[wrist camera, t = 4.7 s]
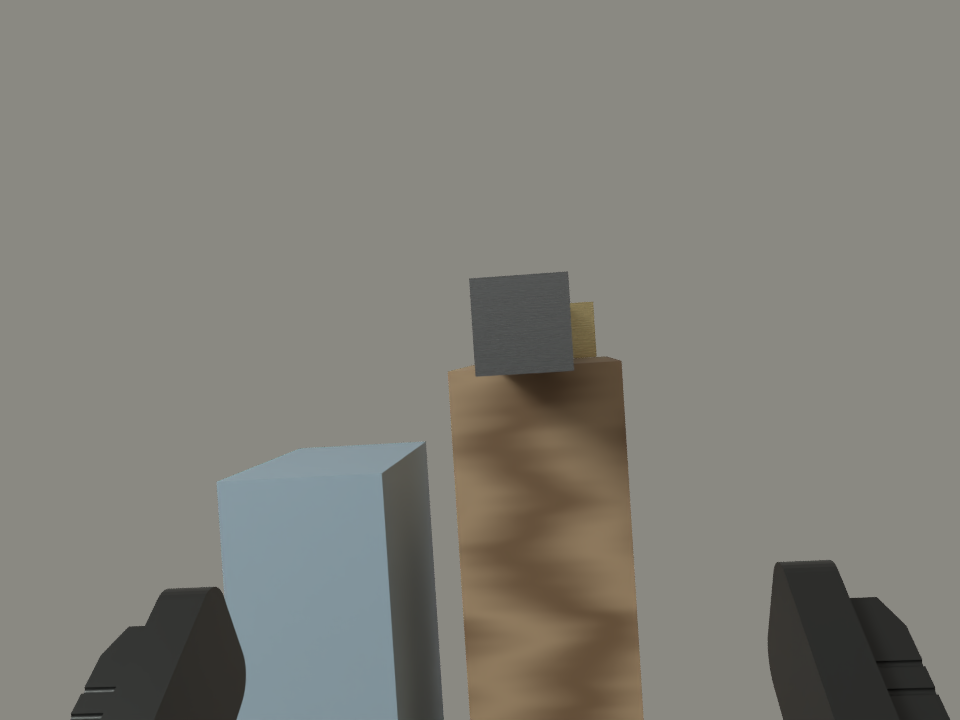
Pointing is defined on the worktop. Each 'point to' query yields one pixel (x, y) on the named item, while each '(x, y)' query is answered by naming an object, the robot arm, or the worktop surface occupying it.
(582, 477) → the brown wooden tall block
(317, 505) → the light blue tall block
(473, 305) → the grey and tan bar
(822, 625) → the robot arm
